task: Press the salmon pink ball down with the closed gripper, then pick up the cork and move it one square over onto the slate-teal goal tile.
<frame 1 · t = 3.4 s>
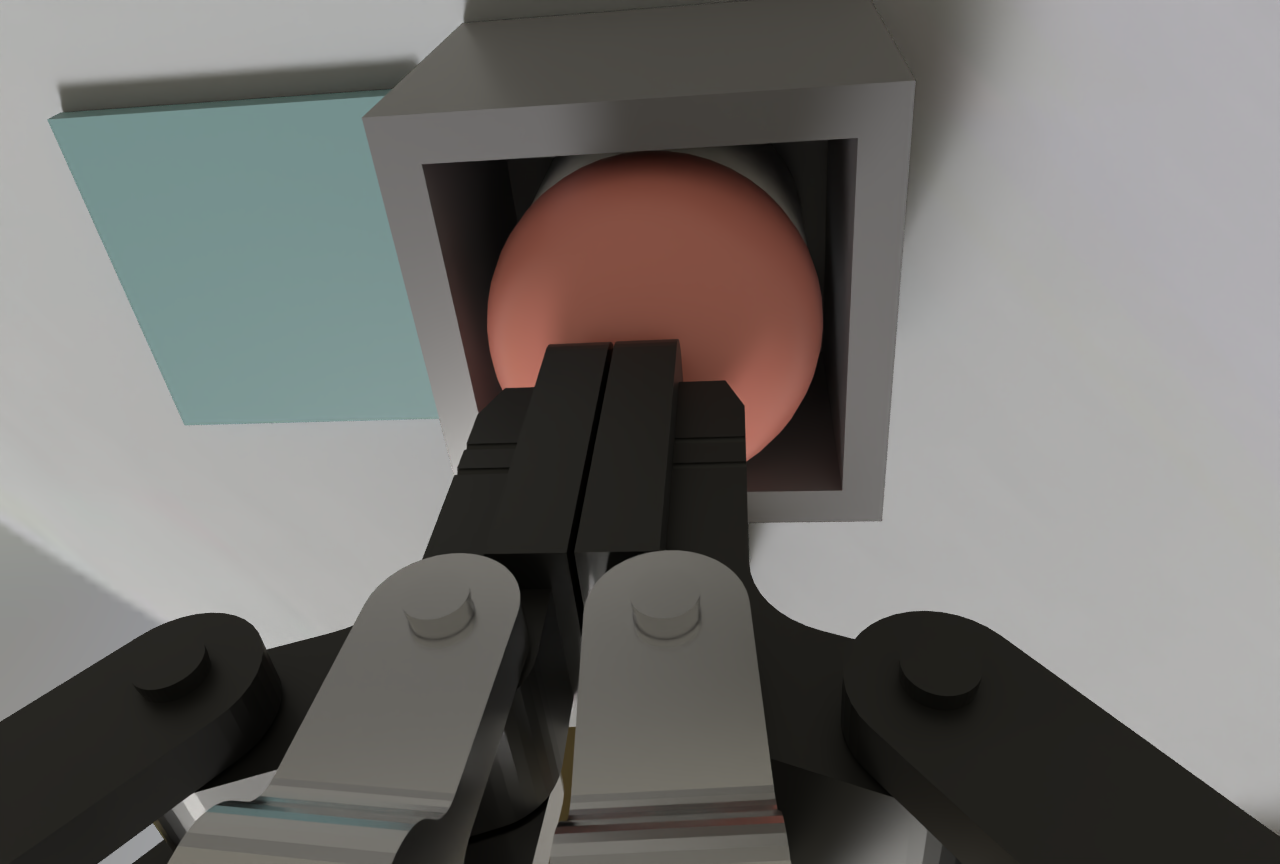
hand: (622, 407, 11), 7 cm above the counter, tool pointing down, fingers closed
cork: (615, 565, 22), on the counter
dome housing: (672, 201, 17), on the counter
salmon pink ball: (656, 311, 13), point 4 cm above the counter, slide at 1.6 cm, touching gripper
goal tile: (289, 271, 18), on the counter
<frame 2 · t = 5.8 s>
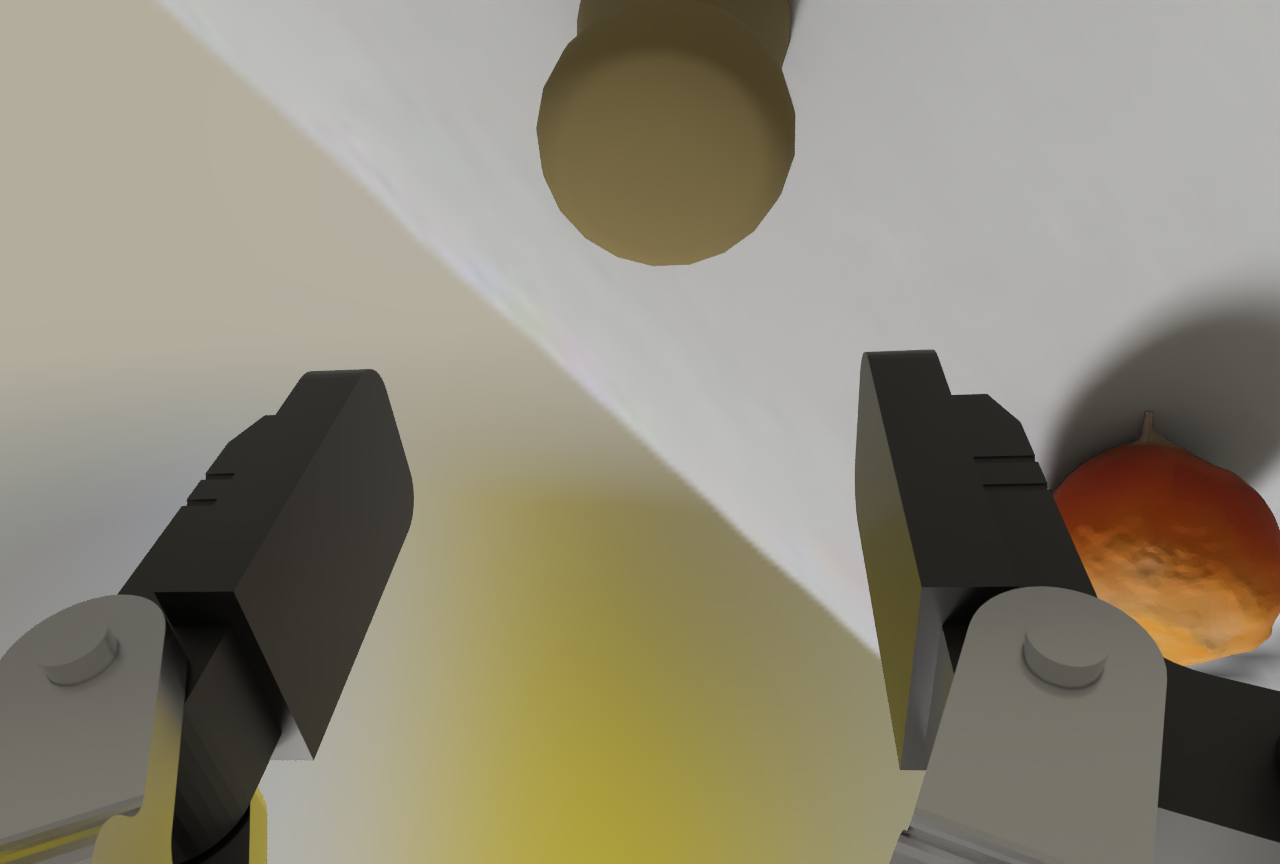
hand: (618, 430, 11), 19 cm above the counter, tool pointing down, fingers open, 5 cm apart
fruit: (1112, 493, 35), on the counter
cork: (683, 28, 27), on the counter
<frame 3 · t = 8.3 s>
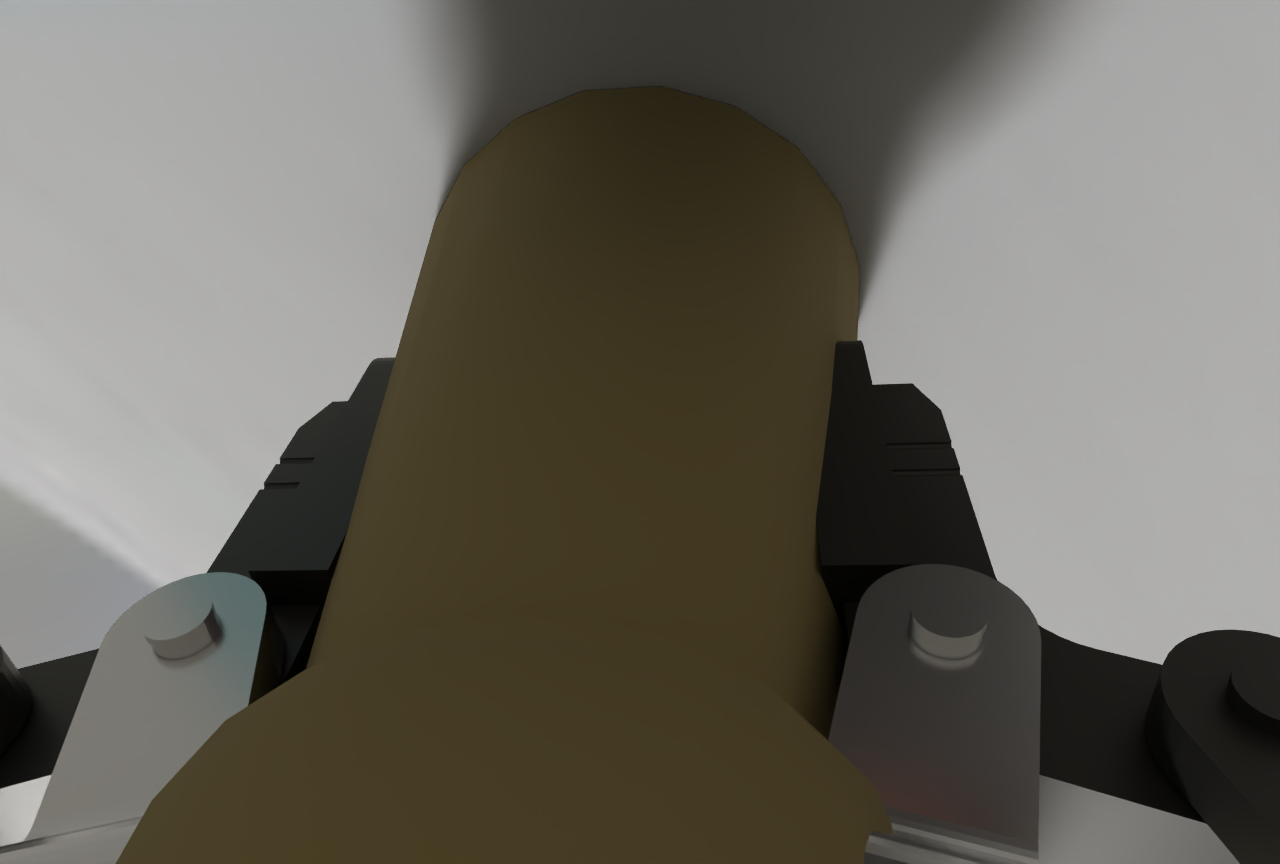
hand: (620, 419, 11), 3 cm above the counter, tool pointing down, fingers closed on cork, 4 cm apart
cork: (641, 299, 13), on the counter, touching gripper
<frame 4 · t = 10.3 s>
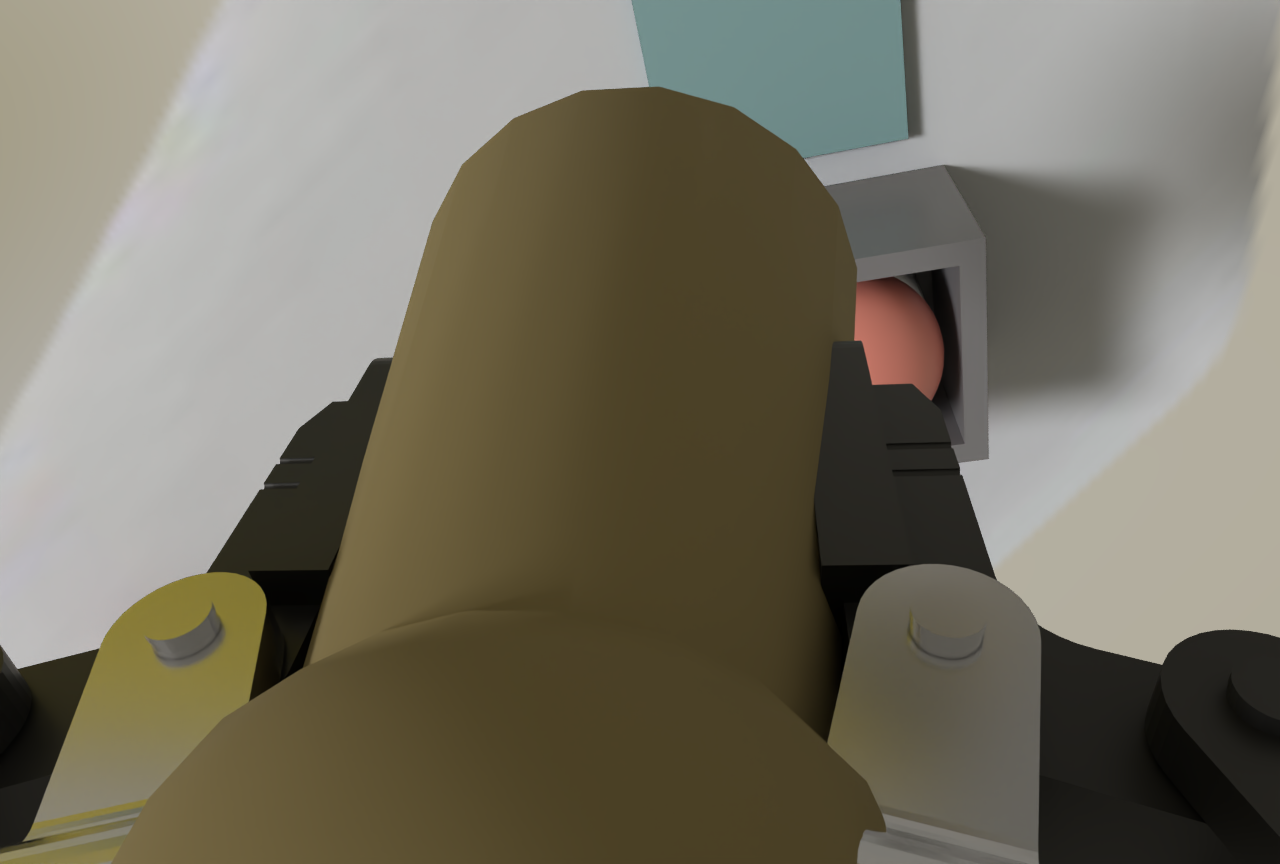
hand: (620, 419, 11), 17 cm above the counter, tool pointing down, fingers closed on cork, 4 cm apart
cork: (639, 299, 13), point 14 cm above the counter, touching gripper
dome housing: (836, 288, 28), on the counter
salmon pink ball: (851, 350, 25), point 4 cm above the counter, slide at 1.9 cm
goal tile: (768, 33, 24), on the counter
when the fingers open (5 cm above the counter, at t = 12.2 s): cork drops 1 cm, resting on goal tile.
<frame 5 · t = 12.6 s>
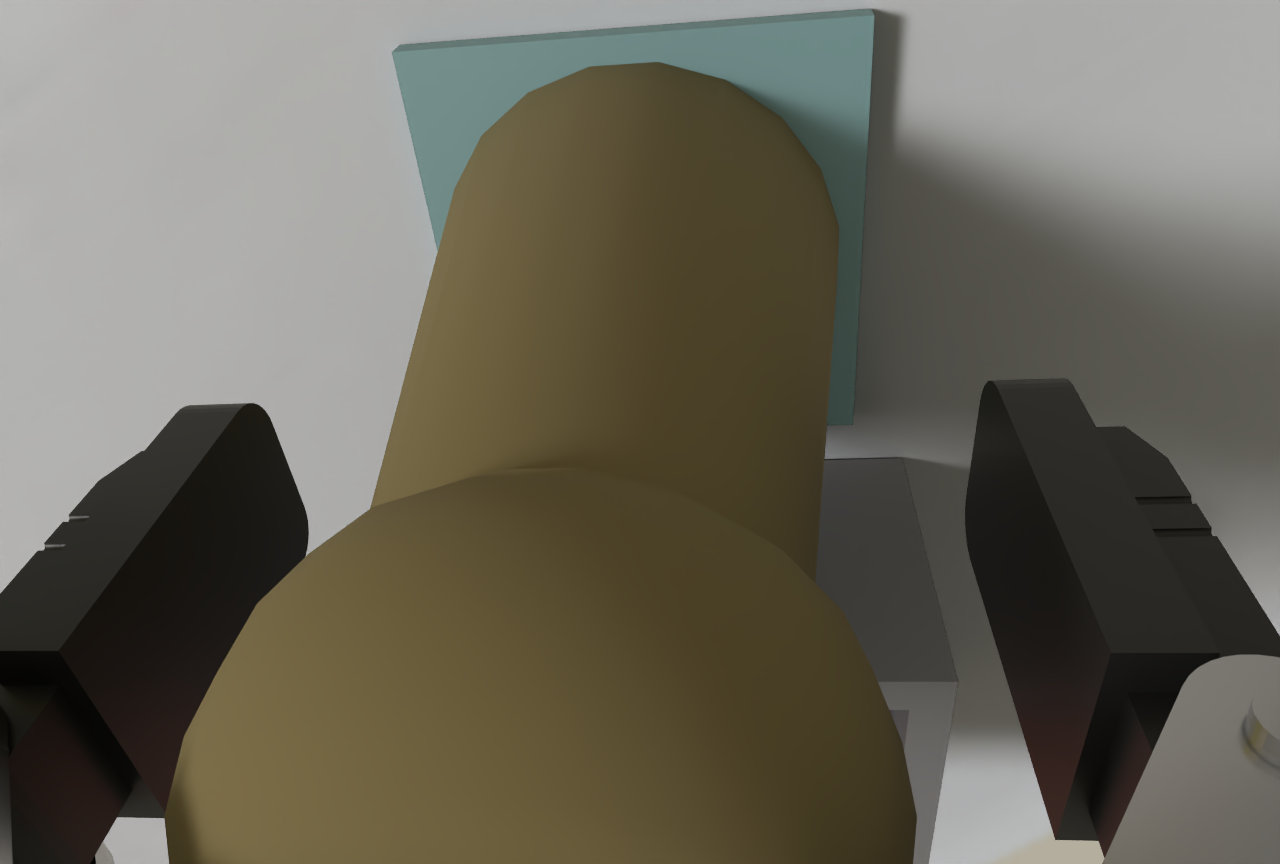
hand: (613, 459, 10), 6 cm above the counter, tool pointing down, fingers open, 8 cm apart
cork: (642, 259, 15), resting on goal tile
dome housing: (728, 588, 19), on the counter
goal tile: (648, 246, 15), on the counter
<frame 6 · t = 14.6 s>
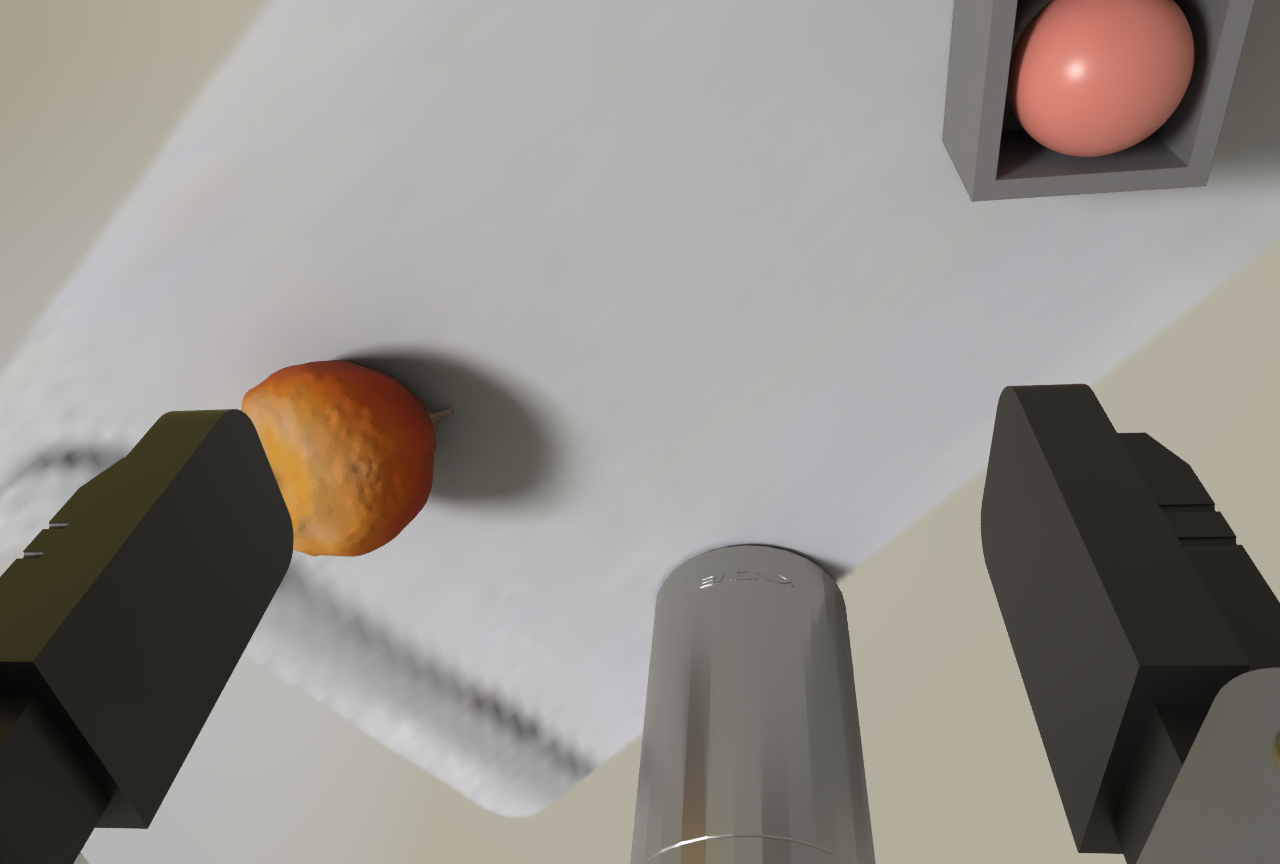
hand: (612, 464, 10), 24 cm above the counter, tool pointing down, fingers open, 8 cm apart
fruit: (365, 403, 40), on the counter
dome housing: (1057, 31, 29), on the counter
salmon pink ball: (1093, 66, 26), point 4 cm above the counter, slide at 1.9 cm
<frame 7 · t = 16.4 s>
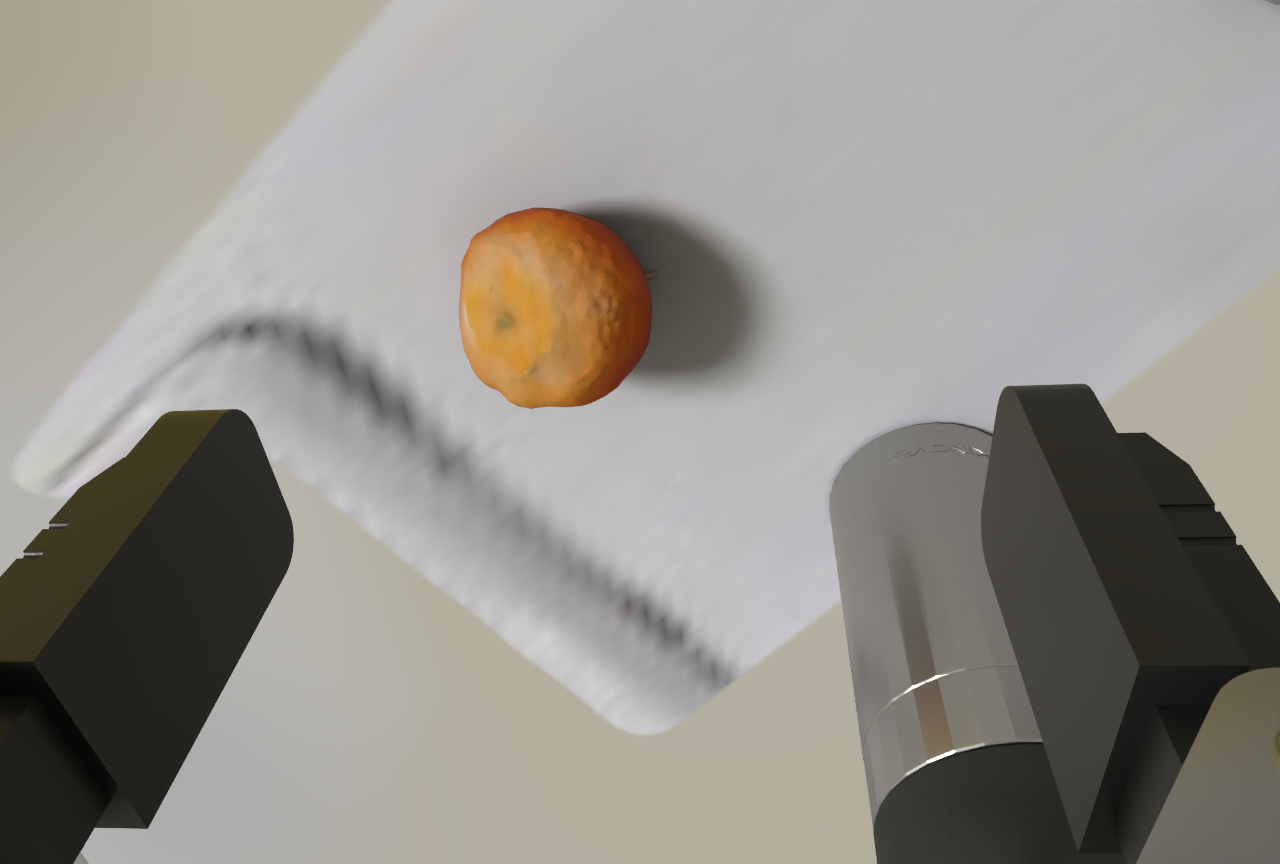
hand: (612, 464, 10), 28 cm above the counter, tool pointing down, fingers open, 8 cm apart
fruit: (566, 267, 40), on the counter
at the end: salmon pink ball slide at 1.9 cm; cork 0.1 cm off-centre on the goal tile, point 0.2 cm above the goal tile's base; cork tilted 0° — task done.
